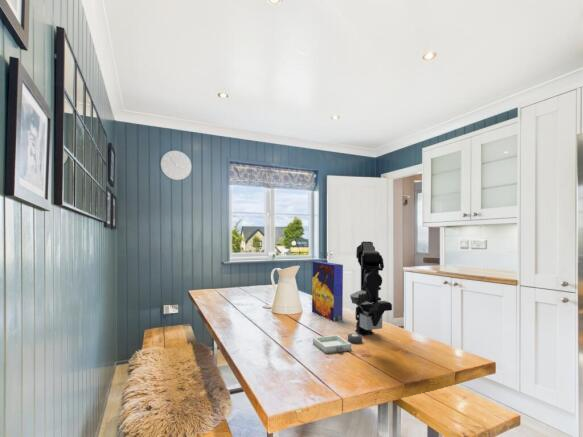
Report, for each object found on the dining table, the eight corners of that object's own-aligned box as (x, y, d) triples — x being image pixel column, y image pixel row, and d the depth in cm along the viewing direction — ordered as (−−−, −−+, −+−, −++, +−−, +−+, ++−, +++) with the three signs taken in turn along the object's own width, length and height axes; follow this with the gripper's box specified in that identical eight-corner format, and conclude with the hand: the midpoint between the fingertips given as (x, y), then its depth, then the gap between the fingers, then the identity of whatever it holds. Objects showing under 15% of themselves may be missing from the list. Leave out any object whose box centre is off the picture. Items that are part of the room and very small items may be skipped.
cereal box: (311, 312, 191) (312, 261, 193) (320, 311, 194) (321, 260, 195) (333, 321, 172) (333, 264, 173) (342, 320, 175) (342, 264, 176)
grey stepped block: (374, 324, 130) (374, 309, 130) (382, 328, 126) (382, 312, 126) (359, 326, 128) (359, 310, 128) (367, 330, 123) (367, 313, 123)
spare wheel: (356, 338, 145) (357, 332, 145) (364, 342, 139) (364, 336, 139) (345, 339, 142) (345, 333, 143) (352, 344, 137) (352, 338, 137)
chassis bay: (335, 339, 142) (335, 333, 142) (353, 351, 128) (353, 345, 129) (311, 342, 138) (311, 336, 138) (327, 355, 124) (327, 348, 124)
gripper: (341, 281, 133) (340, 319, 132) (367, 289, 116) (367, 333, 115) (364, 280, 137) (363, 317, 137) (393, 287, 120) (393, 330, 119)
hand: (370, 324), depth 127 cm, fingers closed on grey stepped block, 5 cm apart
